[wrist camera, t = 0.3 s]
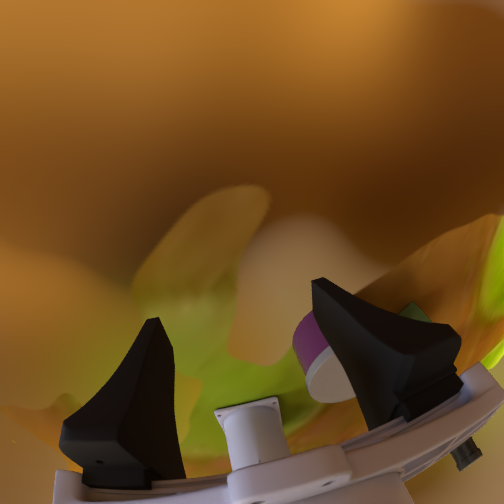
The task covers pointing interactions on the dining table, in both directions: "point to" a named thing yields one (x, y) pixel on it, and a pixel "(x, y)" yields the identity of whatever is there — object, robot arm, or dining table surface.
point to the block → (414, 313)
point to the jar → (320, 364)
